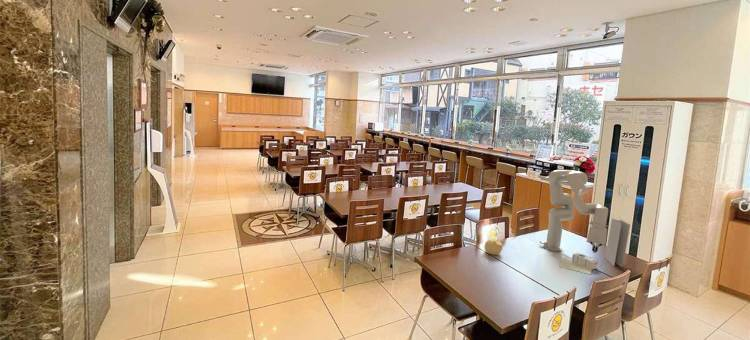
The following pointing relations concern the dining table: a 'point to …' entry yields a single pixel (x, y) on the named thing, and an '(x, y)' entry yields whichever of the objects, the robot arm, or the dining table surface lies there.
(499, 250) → the sculpture
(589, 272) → the mat
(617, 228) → the upright grey panel
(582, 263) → the syrup box
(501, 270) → the dining table surface
